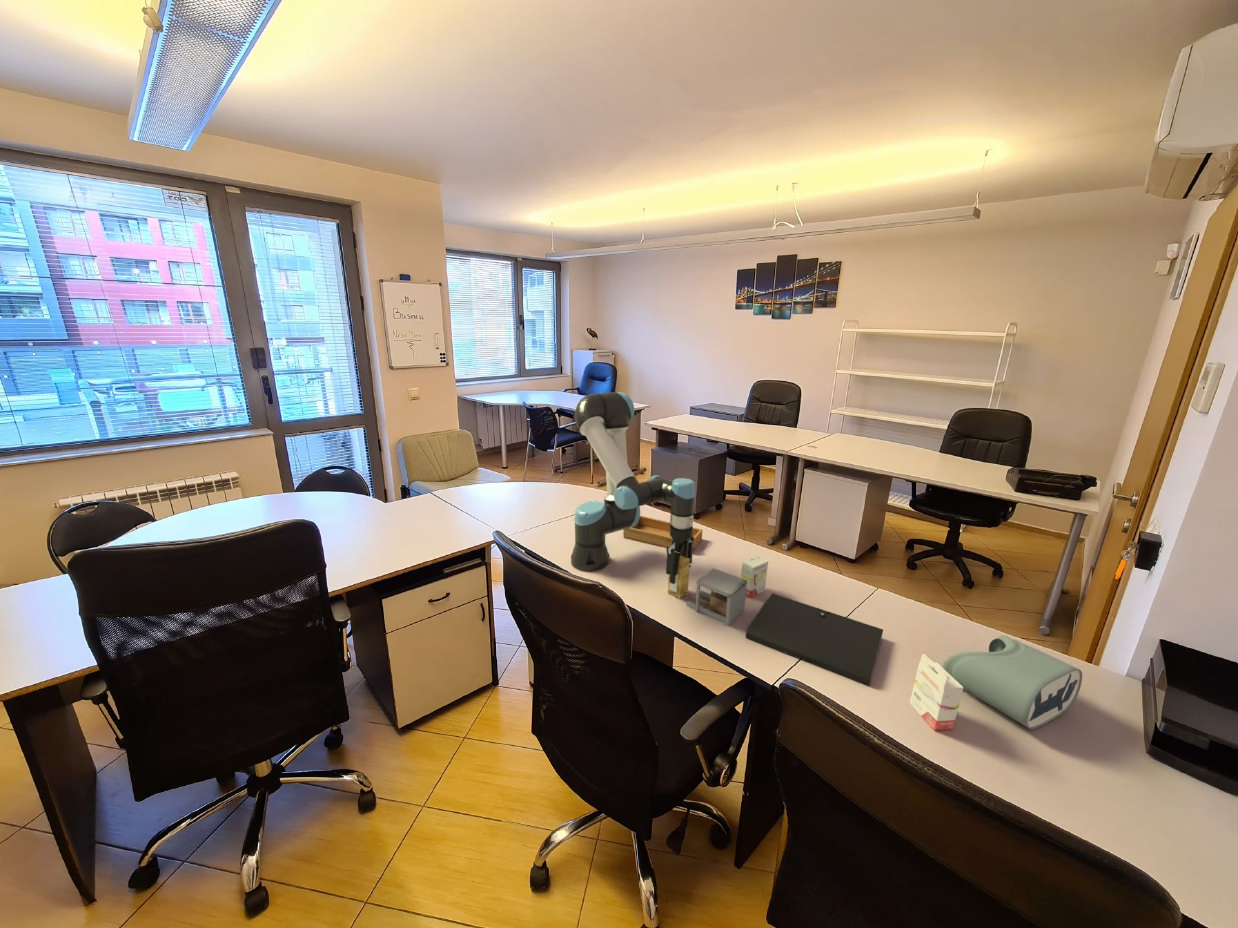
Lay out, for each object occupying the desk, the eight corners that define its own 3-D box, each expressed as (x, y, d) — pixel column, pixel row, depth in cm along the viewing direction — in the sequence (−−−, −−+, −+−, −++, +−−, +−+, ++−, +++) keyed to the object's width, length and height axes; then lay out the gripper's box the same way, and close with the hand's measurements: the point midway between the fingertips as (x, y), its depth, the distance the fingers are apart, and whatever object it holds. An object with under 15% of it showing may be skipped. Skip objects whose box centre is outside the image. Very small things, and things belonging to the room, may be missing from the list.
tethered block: (666, 593, 160) (668, 559, 156) (676, 586, 164) (678, 553, 161) (726, 619, 146) (729, 582, 142) (734, 611, 150) (738, 575, 147)
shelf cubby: (685, 606, 153) (687, 577, 149) (702, 593, 161) (704, 564, 158) (727, 626, 143) (730, 594, 140) (744, 610, 151) (747, 580, 148)
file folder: (883, 627, 137) (871, 676, 118) (881, 639, 138) (868, 689, 120) (772, 591, 155) (746, 628, 137) (771, 602, 157) (745, 640, 138)
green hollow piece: (1022, 738, 104) (1034, 689, 101) (937, 684, 121) (945, 641, 118) (1075, 708, 113) (1087, 663, 110) (988, 662, 130) (997, 621, 127)
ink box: (749, 598, 158) (753, 567, 154) (738, 592, 162) (741, 561, 158) (765, 590, 163) (769, 560, 159) (754, 584, 166) (757, 554, 163)
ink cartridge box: (954, 729, 107) (968, 676, 103) (934, 731, 106) (947, 677, 102) (927, 701, 115) (939, 651, 111) (908, 702, 114) (920, 651, 110)
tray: (701, 540, 202) (702, 528, 200) (690, 554, 189) (691, 541, 187) (638, 526, 215) (638, 514, 214) (623, 538, 203) (623, 526, 201)
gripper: (675, 537, 145) (672, 602, 151) (705, 519, 158) (701, 580, 164) (656, 530, 149) (653, 594, 156) (686, 514, 162) (683, 573, 169)
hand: (678, 587), depth 160 cm, fingers closed on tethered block, 5 cm apart
